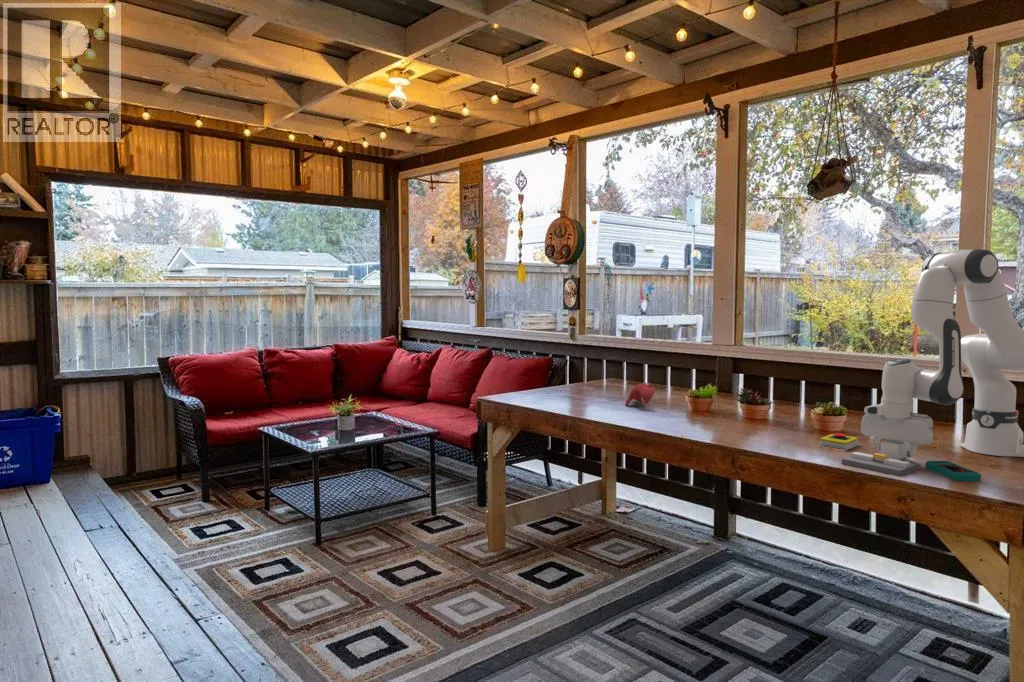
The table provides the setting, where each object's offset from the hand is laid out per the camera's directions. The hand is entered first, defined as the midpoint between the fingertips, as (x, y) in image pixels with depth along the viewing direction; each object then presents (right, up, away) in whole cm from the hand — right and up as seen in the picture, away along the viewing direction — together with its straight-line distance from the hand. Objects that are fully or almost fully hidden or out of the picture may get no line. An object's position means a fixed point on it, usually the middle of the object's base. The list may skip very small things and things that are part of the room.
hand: (895, 453), depth 209 cm
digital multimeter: (+7, -4, -16) cm, 18 cm away
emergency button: (-8, -1, +20) cm, 22 cm away
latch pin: (-9, 0, -7) cm, 11 cm away
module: (0, -2, 0) cm, 2 cm away
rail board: (-9, -3, -7) cm, 11 cm away
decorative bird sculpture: (-61, +5, +102) cm, 120 cm away
